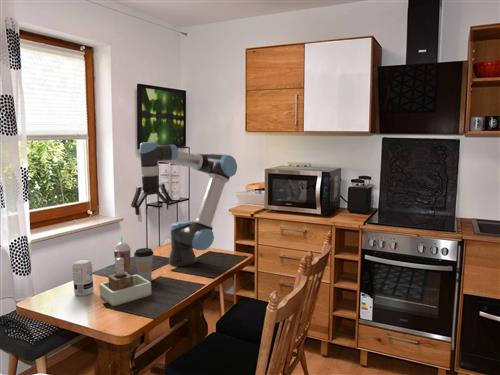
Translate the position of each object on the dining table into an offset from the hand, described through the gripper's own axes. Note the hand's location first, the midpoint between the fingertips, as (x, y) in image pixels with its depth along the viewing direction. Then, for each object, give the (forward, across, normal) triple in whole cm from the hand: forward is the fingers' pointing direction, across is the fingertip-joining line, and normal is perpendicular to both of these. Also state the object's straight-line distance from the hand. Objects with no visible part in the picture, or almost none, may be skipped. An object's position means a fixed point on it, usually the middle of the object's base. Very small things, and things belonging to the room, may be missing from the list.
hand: (152, 218), depth 199 cm
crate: (+31, +19, +6) cm, 37 cm away
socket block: (+31, +21, +6) cm, 38 cm away
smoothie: (+32, +8, -21) cm, 39 cm away
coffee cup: (+32, +3, -7) cm, 33 cm away
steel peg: (+25, +21, +6) cm, 33 cm away
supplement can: (+31, +32, -10) cm, 46 cm away
